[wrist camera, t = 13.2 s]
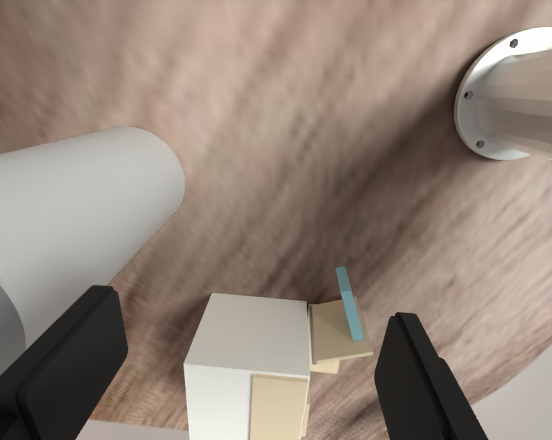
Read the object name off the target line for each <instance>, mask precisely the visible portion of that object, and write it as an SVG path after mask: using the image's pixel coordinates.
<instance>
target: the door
mask: <svg viewBox="0 0 552 440" xmlns="http://www.w3.org/2000/svg"><path fill="white" fill-rule="evenodd" d="M335 269H336V274H337V278H338V283H339V288H340V292H341V296H342V300H337V301H332V302H327V303H322V304H317V305H310V306H309V318H310V335H311V352H312V364H313V365H316V364H321V363H327V362H333V361H339V360H345V359H351V358H358V357H364V356H370V355H373V351H372V348H371V344H370V341H369V337H368V334H367V330H366V327H365V323H364V320H363V316H362V313H361V310H360V306H359V303H358V299H357V297H353V294H352V290H351V286H350V283H349V279H348V275H347V272H346V268H345V266H343V267H338V268H335Z"/></svg>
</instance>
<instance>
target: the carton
mask: <svg viewBox="0 0 552 440" xmlns="http://www.w3.org/2000/svg"><path fill="white" fill-rule="evenodd" d="M310 305H317V304H309V306H310ZM339 362H340V360H339V361H333V362H327V363H321V364H316V365H313V364H312V352H311V335H310V318H309V307H308V315H307V301H298V300H287V299H276V298H265V297H253V296H242V295H231V294H220V293H212V294H211V297H210V299H209V302H208V304H207V307H206V309H205V312H204V314H203V317H202V319H201V322H200V324H199V327H198V329H197V332H196V334H195V337H194V339H193V342H192V344H191V346H190V349H189V351H188V354H187V356H186V359H185V361H184V375H185V387H186V399H187V411H188V423H189V434H190V440H300V438H301V436H302V437H305V433H306V427H307V421H308V414H309V408H310V392H309V381H310V371H314V372H324V373H335V374H337V372H338V367H339Z"/></svg>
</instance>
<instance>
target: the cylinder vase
mask: <svg viewBox="0 0 552 440" xmlns="http://www.w3.org/2000/svg"><path fill="white" fill-rule="evenodd" d="M184 194H185V176H184V172H183V168H182V166H181V163H180V161H179V159H178V158H177V156H176V154H175V153H174V152H173V150H172V149H171V148H170V147H169V146H168V145H167V144H166V143H165V142H164V141H163V140H161V139H160V138H159V137H157V136H156V135H154V134H152V133H150V132H148V131H146V130H143V129H140V128H136V127H128V126H122V127H114V128H110V129H106V130H102V131H97V132H93V133H89V134H85V135H80V136H76V137H72V138H68V139H63V140H59V141H55V142H51V143H46V144H42V145H38V146H34V147H29V148H25V149H21V150H17V151H12V152H8V153H4V154H0V375H1V374H2V373H3V372H4V371H5V370H6V369H7V368H8V367H9V366H10V365H11V364H12V363H13V362H14V361H15V360H16V359H17V358H18V357H19V356H20V355H21V354H23V353H24V352H25V351H26V350H27V349H28V348H29V347H30V346H31V345H32V344H33V343H34V342H35V341H36V340H37V339H38V338H39V337H40V336H41V335H42V334H43V333H44V332H45V331H46V330H47V329H48V328H49V327H50V326H51V325H52V324H53V323H54V322H55V321H56V320H57V319H58V318H59V317H60V316H61V315H62V314H63V313H64V312H65V311H66V310H67V309H68V308H69V307H70V306H71V305H72V304H73V303H74V302H75V301H76V300H77V299H78V298H79V297H80V296H82V295H83V294H84V293H85V292H86V291H87V290H88V289H89V288H90V287H91V286H92V285H103V286H106V285H107V284H108V283H109V282H110V281H111V280H112V279H113V278H114V277H115V276H116V275H117V274H118V272H119V271H120V270H121V269H122V268H123V267H124V266H125V265H126V264H127V263H128V262H129V261H130V260H131V259H132V258H133V257H134V256H135V255H136V253H137V252H138V251H139V250H140V249H141V248H142V247H143V246H144V245H145V244H146V243H147V242H148V241H149V240H150V239H151V238H152V237H153V235H154V234H155V233H156V232H157V231H158V230H159V229H160V228H161V227H162V226H163V225H164V224H165V223H166V222H167V221H168V220H169V219H170V218H171V216H172V215H173V214H174V213H175V212H176V211H177V210H178V208H179V207H180V205H181V203H182V201H183V198H184Z"/></svg>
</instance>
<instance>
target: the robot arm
mask: <svg viewBox="0 0 552 440" xmlns="http://www.w3.org/2000/svg"><path fill="white" fill-rule="evenodd" d="M509 42H510V46H509ZM465 93H466V97H464V94H465ZM454 121H455V125H456V129H457V132H458V134H459V136H460V138H461V140H462V141H463V142H464V143H465V144H466V146H467V147H468V148H470V149H471V150H473V151H474V152H475V153H477V154H480V155H482V156H484V157H488V158H491V159H495V160H514V159H520V158H524V157H527V156H530V155H534V156H537V157H541V158H544V159H547V160H551V161H552V27H535V28H531V29H526V30H522V31H519V32H516V33H513V34H510V35H508V36H506V37H504V38H503V39H501V40H499V41H497V42H496V43H494V44H493V45H492V46H490V47H489V48H488V49H486V50H485V51H484V52H483V53H482V54H481V55H480V56H479V57H478V58H477V59H476V60H475V61H474V63H473V64H472V65H471V67H470V68H469V69H468V71H467V72H466V74H465V76H464V78H463V80H462V82H461V84H460V86H459V89H458V92H457V95H456V98H455V105H454ZM477 142H478V143H477ZM476 143H477V145H476ZM127 353H128V346H127V340H126V335H125V329H124V324H123V318H122V313H121V307H120V302H119V296H118V293H117V291H114V289H113V288H112V287H111V286H103V285H92V286H91V287H90V288H89V289H88V290H87V291H86V292H85V293H84V294H83V295H82V296H80V297H79V298H78V299H77V300H76V301H75V302H74V303H73V304H72V305H71V306H70V307H69V308H68V309H67V310H66V311H65V312H64V313H63V314H62V315H61V316H60V317H59V318H58V319H57V320H56V321H55V322H54V323H53V324H52V325H51V326H50V327H49V328H48V329H47V330H46V331H45V332H44V333H43V334H42V335H41V336H40V337H39V338H38V339H37V340H36V341H35V342H34V343H33V344H32V345H31V346H30V347H29V348H28V349H27V350H26V351H25V352H24V353H23V354H21V355H20V356H19V357H18V358H17V359H16V360H15V361H14V362H13V363H12V364H11V365H10V366H9V367H8V368H7V369H6V370H5V371H4V372H3V373H2V374H1V375H0V440H75V439H76V438H77V436H78V434H79V433H80V431H81V429H82V428H83V426H84V425H85V423H86V421H87V420H88V418H89V417H90V415H91V414H92V412H93V410H94V409H95V407H96V405H97V404H98V402H99V401H100V399H101V397H102V396H103V394H104V393H105V391H106V389H107V388H108V386H109V385H110V383H111V381H112V380H113V378H114V377H115V375H116V373H117V372H118V370H119V368H120V367H121V365H122V364H123V362H124V360H125V359H126V356H127ZM374 379H375V385H376V389H377V393H378V396H379V400H380V404H381V408H382V411H383V415H384V419H385V423H386V427H387V430H388V434H389V438H390V440H488V438H487V436H486V434H485V433H484V431H483V429H482V427H481V425H480V423H479V421H478V420H477V418H476V416H475V414H474V412H473V410H472V409H471V407H470V405H469V403H468V401H467V399H466V397H465V396H464V394H463V392H462V390H461V388H460V386H459V384H458V383H457V381H456V379H455V377H454V375H453V373H452V372H451V370H450V368H449V366H448V364H447V363H446V361H445V360H444V359H442V358H439V356H438V355H437V353H436V351H435V349H434V347H433V345H432V343H431V341H430V339H429V337H428V336H427V334H426V332H425V330H424V328H423V326H422V324H421V322H420V320H419V318H418V317H417V315H416V314H413V313H402V312H397V313H396V314H395V316H391V317H390V319H389V322H388V326H387V329H386V333H385V337H384V340H383V344H382V348H381V351H380V355H379V358H378V362H377V366H376V369H375V375H374Z"/></svg>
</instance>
